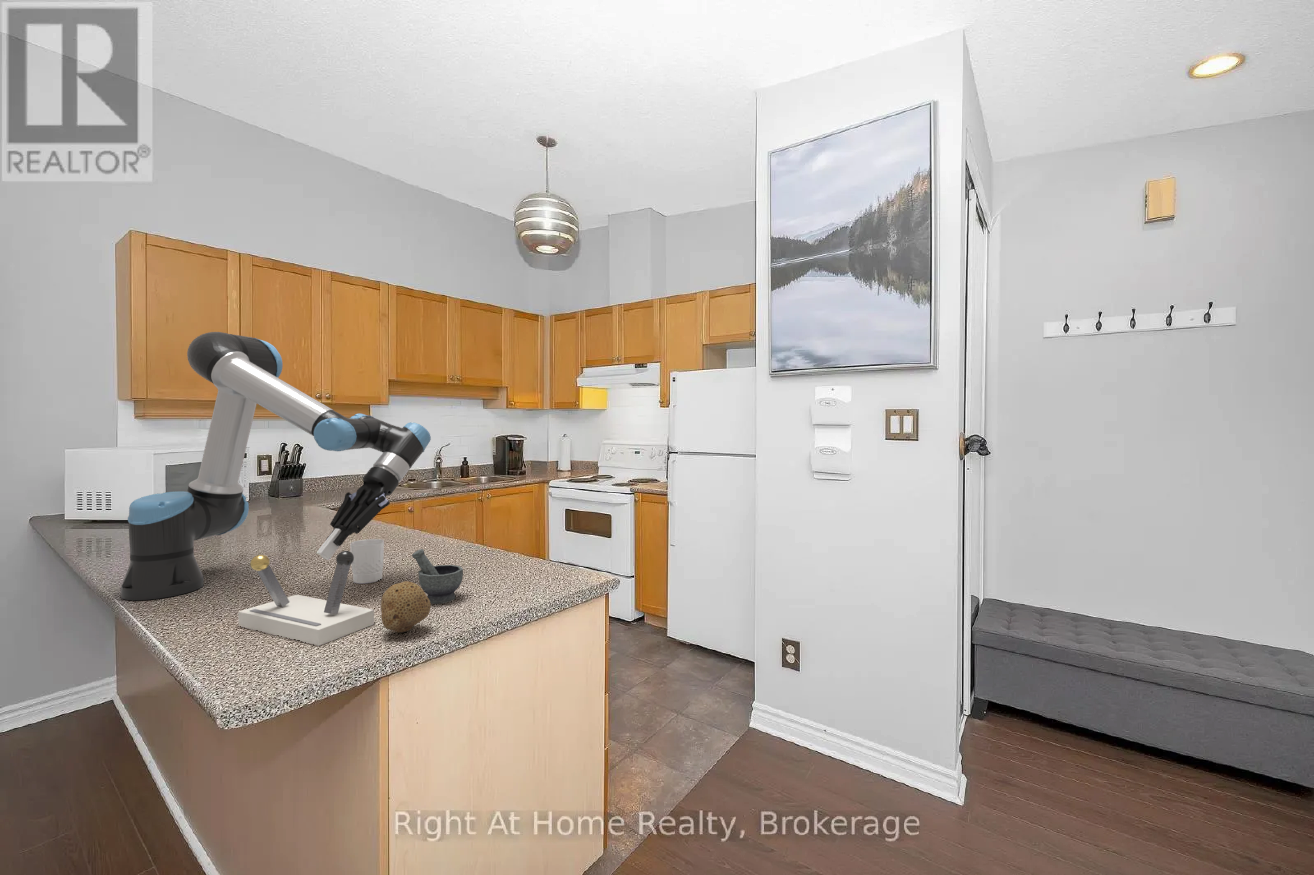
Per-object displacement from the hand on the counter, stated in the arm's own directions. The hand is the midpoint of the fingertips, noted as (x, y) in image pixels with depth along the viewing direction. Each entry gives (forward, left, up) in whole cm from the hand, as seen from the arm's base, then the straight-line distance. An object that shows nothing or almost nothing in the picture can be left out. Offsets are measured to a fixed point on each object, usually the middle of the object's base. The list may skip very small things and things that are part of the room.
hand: (322, 556), depth 125 cm
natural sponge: (+22, +18, -12) cm, 30 cm away
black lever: (+16, +4, -9) cm, 18 cm away
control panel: (+11, -1, -12) cm, 16 cm away
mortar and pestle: (+3, +24, -12) cm, 27 cm away
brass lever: (+6, -6, -9) cm, 12 cm away
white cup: (-20, +7, -12) cm, 24 cm away
